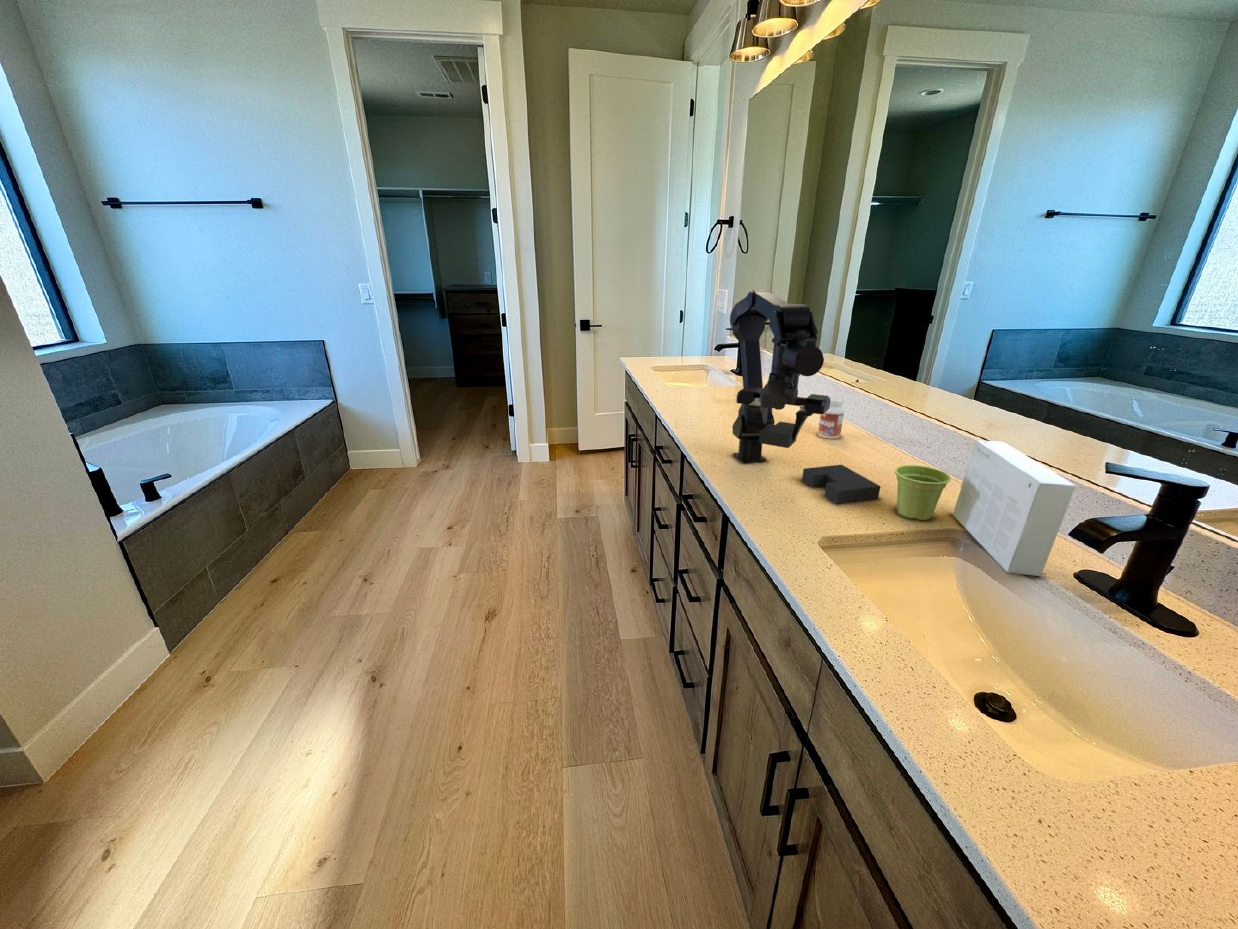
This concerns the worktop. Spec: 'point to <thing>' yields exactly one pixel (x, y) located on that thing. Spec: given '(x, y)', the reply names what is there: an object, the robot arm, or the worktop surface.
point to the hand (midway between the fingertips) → (778, 437)
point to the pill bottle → (832, 419)
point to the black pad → (777, 434)
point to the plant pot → (919, 490)
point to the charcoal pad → (841, 483)
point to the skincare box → (1012, 506)
